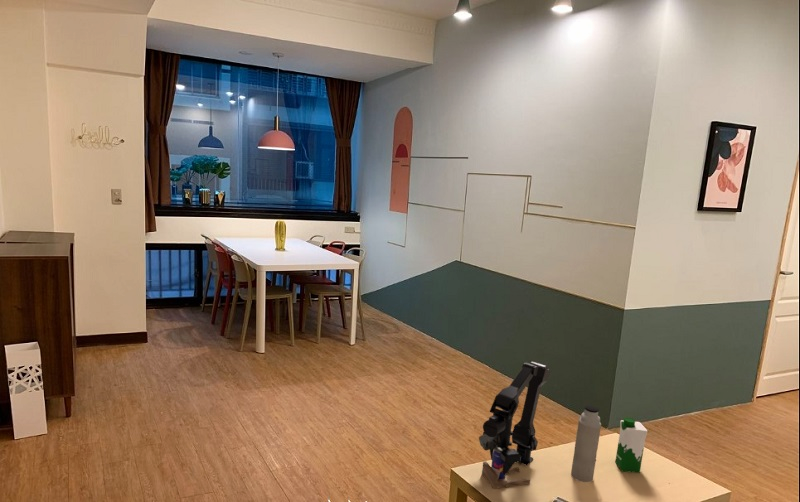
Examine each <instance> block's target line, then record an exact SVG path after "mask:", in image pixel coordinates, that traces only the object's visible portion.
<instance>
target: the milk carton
mask: <svg viewBox="0 0 800 502" xmlns="http://www.w3.org/2000/svg"><path fill="white" fill-rule="evenodd" d="M619 425H620V426H619V436H618V442H617V449H616V454H615V455H616V456H615V460H614V461H615V463H616V465H617V466H618V467H619V470H620V471H621V472H627V473H636V474H637V473H638V474H640V473H641V469H642V468H641V467H642V461H643V455H644V448H645V443H646V438H647V434H648V429H647V428H646V427H645V426H644V425H643V424H642V423H641V422H640V421H635V419H633V418H631V417H624V418H623V420H622V419H621V420H620V423H619Z"/></svg>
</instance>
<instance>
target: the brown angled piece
mask: <svg viewBox="0 0 800 502" xmlns="http://www.w3.org/2000/svg"><path fill="white" fill-rule="evenodd" d="M520 470H521V469H520V467H519V466H517V467H511V468H510V470H509V471H508V472H507V474H515V473H520ZM507 474H506V475H507ZM481 475H482V476H483V477H484V479H485V480H486V481H487V483H488V484H489V485H490V487H492V489H503V488H507V487H513V486H521V485H522V486H523V485H530V482H531V479H530V478H521V479H512V480H507V479H506V478H505V479H498V475H497V474H496V473H495V471H494V470H493V469H492V468H491V465H490V463H489V462H487V461H483V462H482V469H481Z"/></svg>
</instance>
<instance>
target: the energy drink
mask: <svg viewBox="0 0 800 502" xmlns="http://www.w3.org/2000/svg"><path fill="white" fill-rule="evenodd" d="M502 451H503V450H502V449H501V448H497V447H496V448H494V450H493V457H492V460H491V465H490V467H491V468H492V469H493V470H494V471H495V473H496V474H497V475H498V479H506V474H503V461H502V460H501V459H500V458H501V452H502Z"/></svg>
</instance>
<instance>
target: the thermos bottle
mask: <svg viewBox="0 0 800 502" xmlns="http://www.w3.org/2000/svg"><path fill="white" fill-rule="evenodd" d="M577 422H578V423H577V428H576V437H575V443H574V451H573V456H572V457H573V459H572V464H571V471H570V472H571V473H570V474H571V477H572V478H573V479H574V480H577V481H578V482H582V483H592V481H593V480H594V474H595V468H596V461H597V453H598V448H599V443H600V434H601V428H602V423H601V417H600V416H599V408H598V407H597V406H594V405H590V404H588V405H587V404H586V405H585V406H584V411H583V412H582V413H581V415H580V417H579V418H578V421H577Z"/></svg>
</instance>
